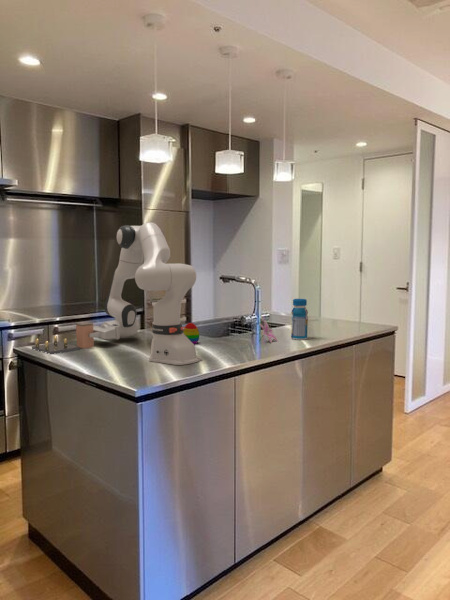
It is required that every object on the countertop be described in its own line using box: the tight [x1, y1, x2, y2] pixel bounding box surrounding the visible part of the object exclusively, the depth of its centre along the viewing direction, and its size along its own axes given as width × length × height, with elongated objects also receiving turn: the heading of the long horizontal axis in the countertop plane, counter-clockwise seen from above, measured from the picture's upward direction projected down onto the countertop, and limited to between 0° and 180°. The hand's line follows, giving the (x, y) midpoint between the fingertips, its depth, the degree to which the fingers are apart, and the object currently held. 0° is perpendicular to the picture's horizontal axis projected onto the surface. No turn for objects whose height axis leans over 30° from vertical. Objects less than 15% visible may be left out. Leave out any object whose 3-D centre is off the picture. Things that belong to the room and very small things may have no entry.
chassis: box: [31, 335, 81, 355], centre depth 218 cm, size 17×14×5 cm
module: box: [75, 321, 95, 350], centre depth 223 cm, size 6×6×11 cm
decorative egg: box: [183, 322, 200, 345], centre depth 231 cm, size 8×8×10 cm
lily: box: [259, 320, 279, 343], centre depth 236 cm, size 12×12×10 cm
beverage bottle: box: [290, 298, 309, 341], centre depth 242 cm, size 8×8×20 cm
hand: (83, 334), depth 223 cm, fingers open, 8 cm apart
